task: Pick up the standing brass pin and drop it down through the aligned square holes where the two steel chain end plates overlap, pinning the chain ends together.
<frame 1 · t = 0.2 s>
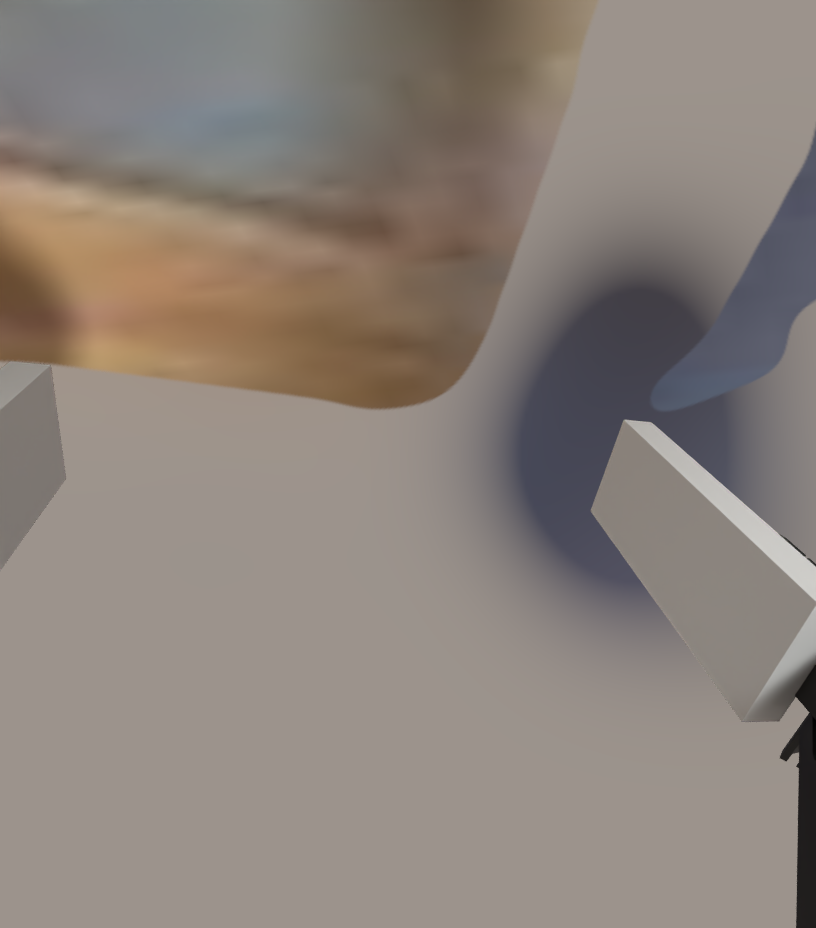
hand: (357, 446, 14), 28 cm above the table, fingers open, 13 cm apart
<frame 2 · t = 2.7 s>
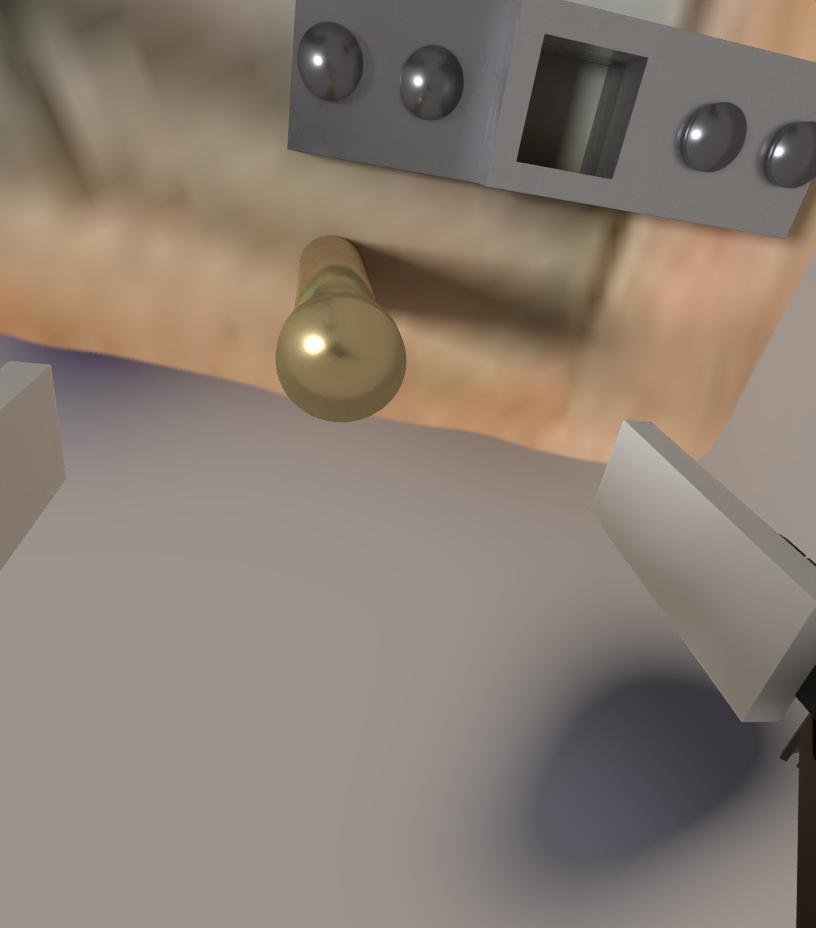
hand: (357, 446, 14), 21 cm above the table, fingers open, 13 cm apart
chain ends: (549, 112, 30), on the table
brass pin: (331, 268, 32), on the table
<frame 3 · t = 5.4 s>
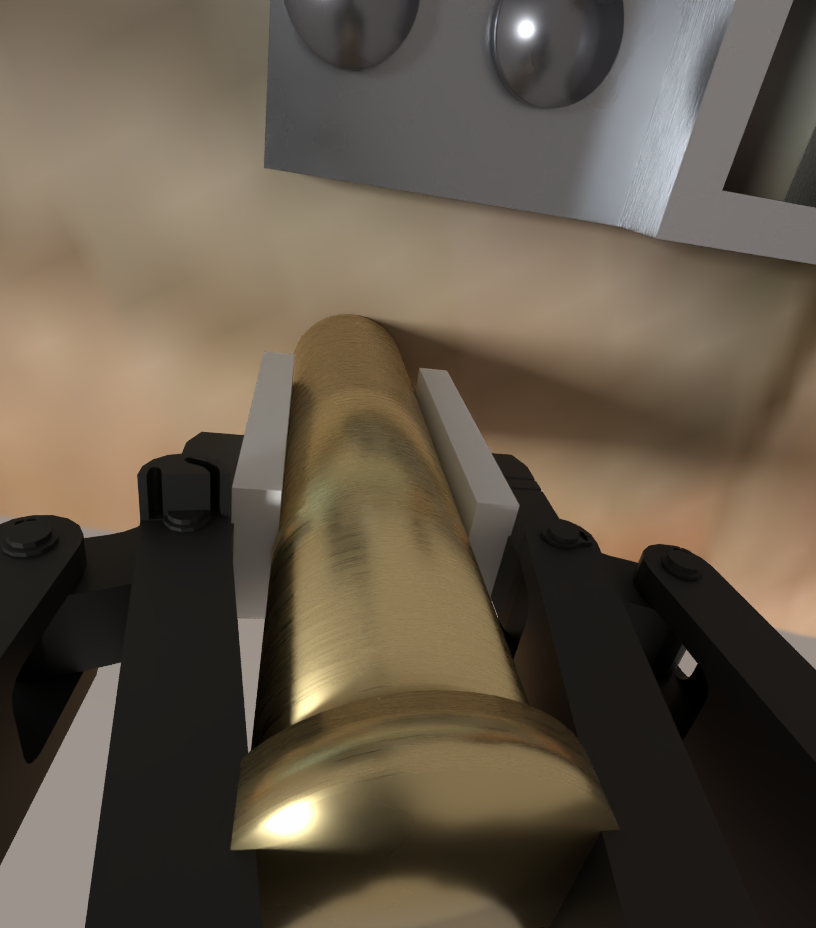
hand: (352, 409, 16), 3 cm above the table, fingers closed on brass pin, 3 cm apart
chain ends: (747, 96, 16), on the table
brass pin: (347, 368, 18), on the table, touching gripper
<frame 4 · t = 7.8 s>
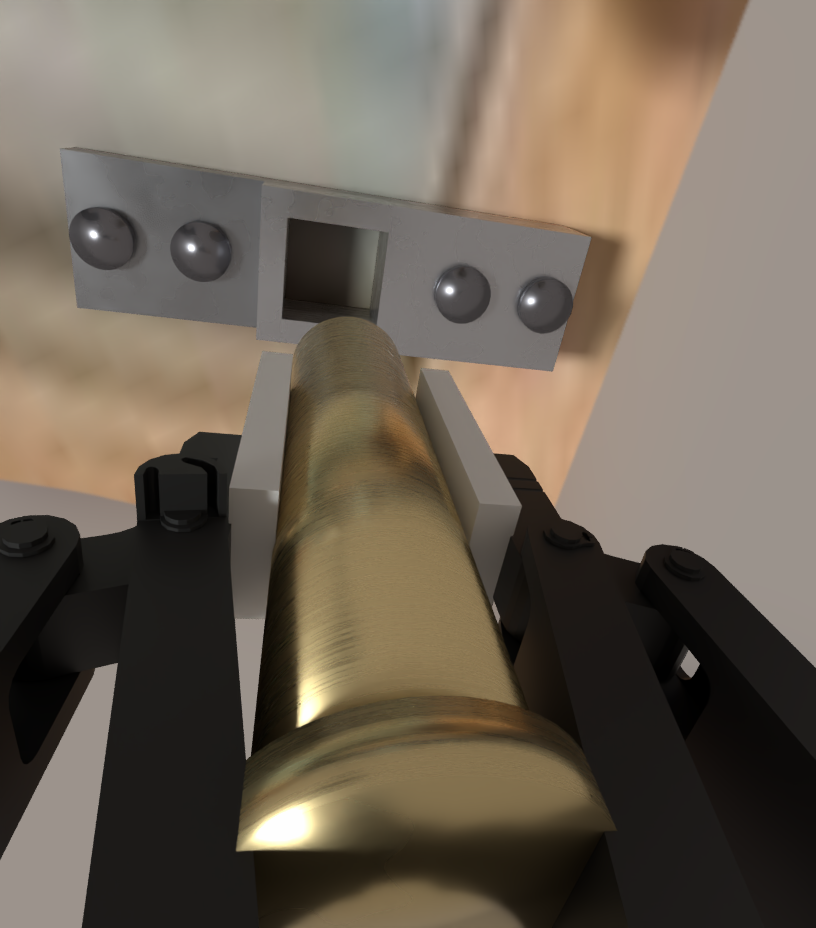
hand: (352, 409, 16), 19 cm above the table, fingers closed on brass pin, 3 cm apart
chain ends: (332, 260, 32), on the table
brass pin: (347, 370, 18), point 16 cm above the table, touching gripper
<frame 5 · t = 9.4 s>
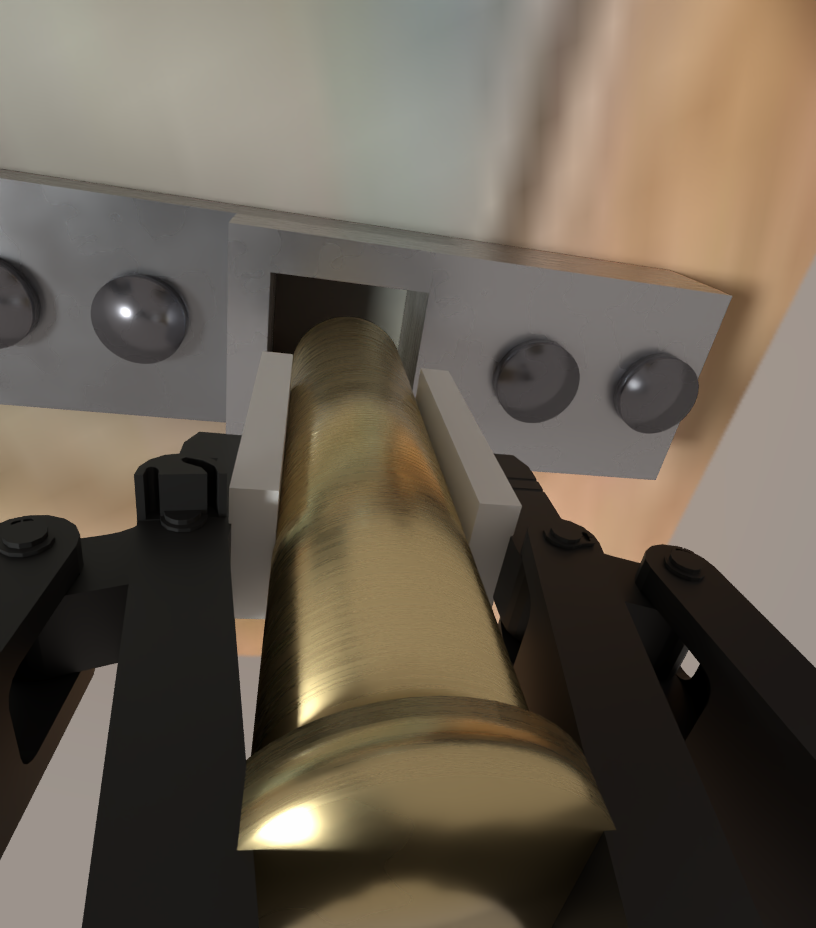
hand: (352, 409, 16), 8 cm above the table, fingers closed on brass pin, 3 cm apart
chain ends: (339, 322, 22), on the table
brass pin: (347, 370, 18), point 5 cm above the table, touching gripper
when the fingers open (6 cm above the table, at t = 10.4 s): brass pin drops 2 cm, resting in chain ends.
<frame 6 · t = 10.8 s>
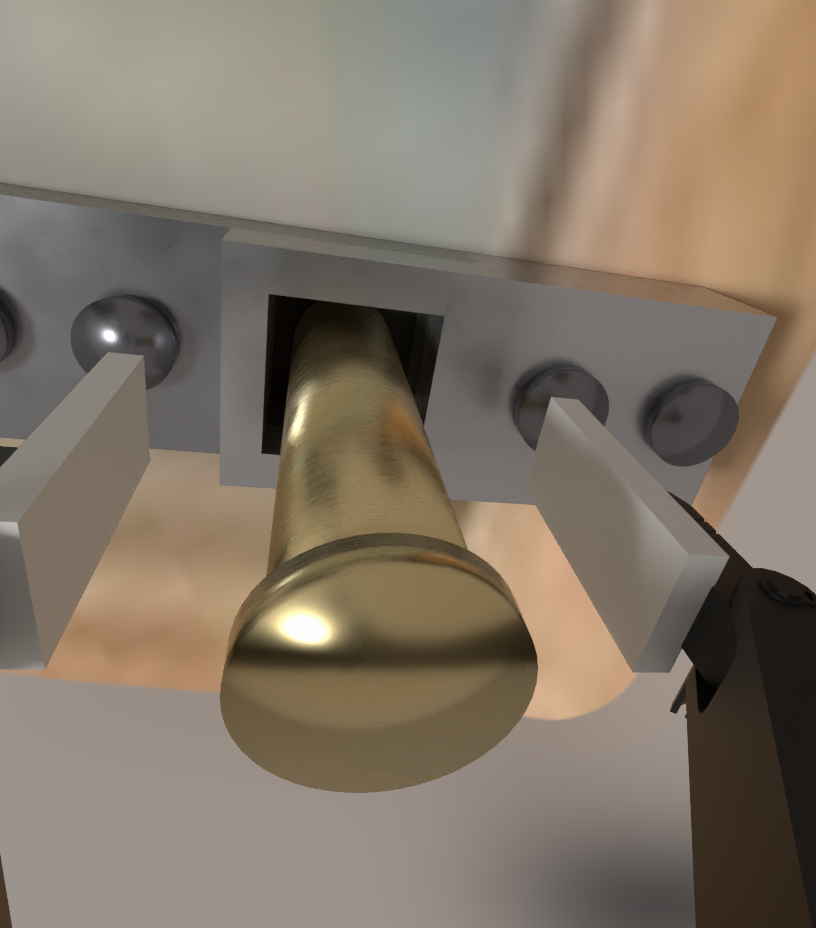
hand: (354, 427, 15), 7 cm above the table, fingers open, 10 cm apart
chain ends: (343, 344, 21), on the table
brass pin: (342, 344, 21), resting in chain ends
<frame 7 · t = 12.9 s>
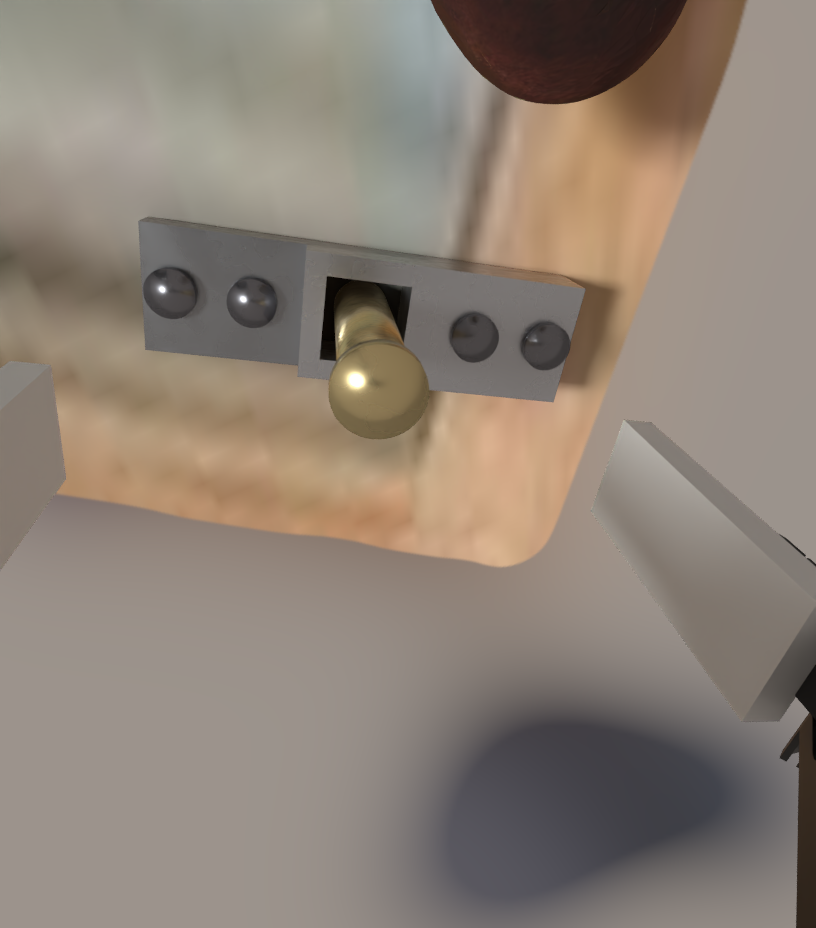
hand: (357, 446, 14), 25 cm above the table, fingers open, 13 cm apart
chain ends: (361, 307, 37), on the table
brass pin: (360, 307, 37), resting in chain ends
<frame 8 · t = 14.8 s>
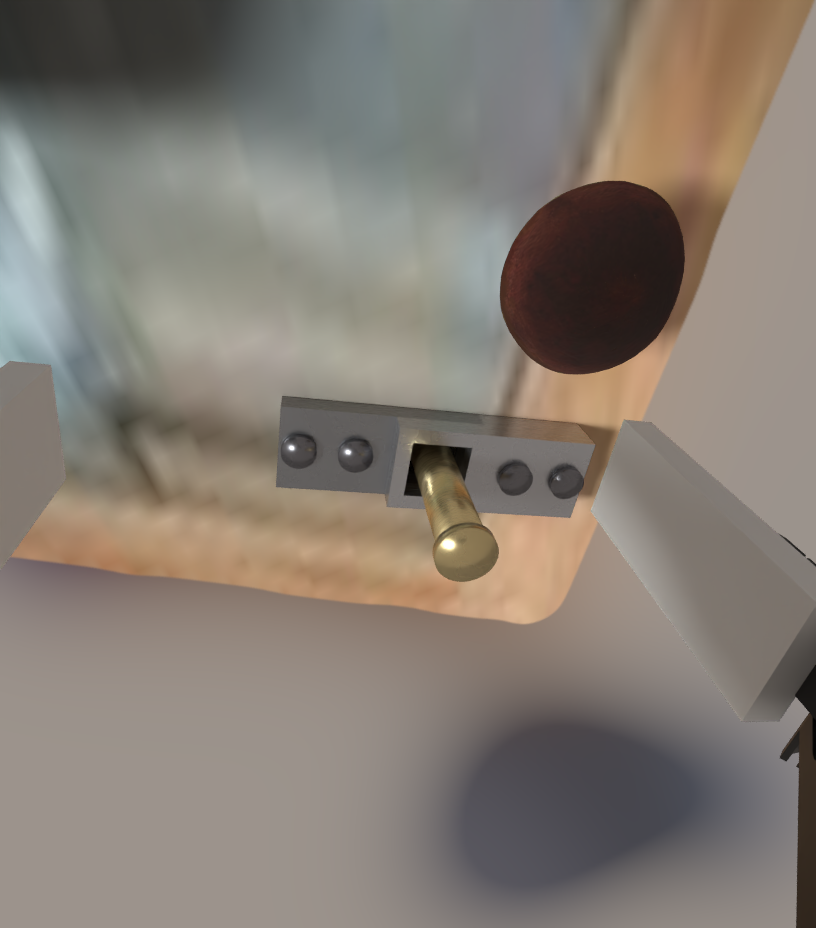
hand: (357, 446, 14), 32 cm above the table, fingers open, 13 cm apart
chain ends: (429, 448, 51), on the table
decorative mushroom: (533, 251, 44), on the table
brass pin: (428, 448, 51), resting in chain ends
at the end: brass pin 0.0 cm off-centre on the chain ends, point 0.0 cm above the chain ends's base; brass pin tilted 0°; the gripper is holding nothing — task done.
